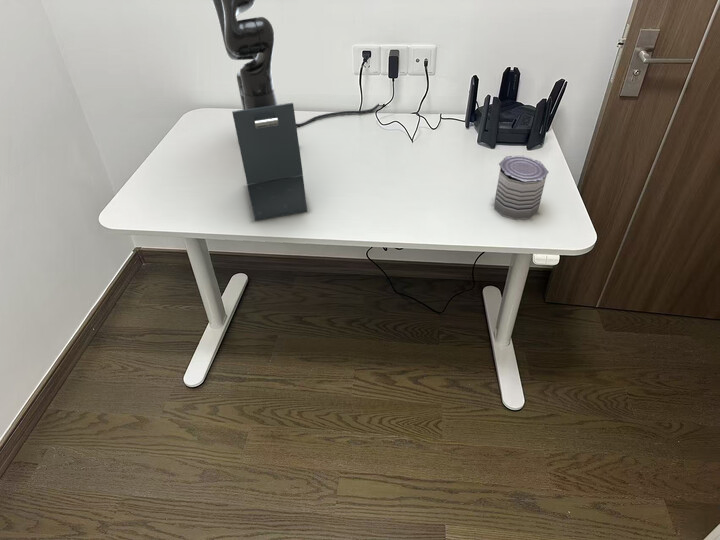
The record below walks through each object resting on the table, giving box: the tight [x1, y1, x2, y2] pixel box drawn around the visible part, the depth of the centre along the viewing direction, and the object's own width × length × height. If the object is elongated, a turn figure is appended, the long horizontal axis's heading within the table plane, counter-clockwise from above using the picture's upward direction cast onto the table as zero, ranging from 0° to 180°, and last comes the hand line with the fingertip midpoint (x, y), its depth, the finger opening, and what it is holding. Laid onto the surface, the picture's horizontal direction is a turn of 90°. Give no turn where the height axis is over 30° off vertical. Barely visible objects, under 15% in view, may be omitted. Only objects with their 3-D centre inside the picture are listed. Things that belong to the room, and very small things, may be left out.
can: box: [493, 155, 550, 221], centre depth 130 cm, size 11×11×12 cm
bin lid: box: [231, 102, 304, 185], centre depth 120 cm, size 18×14×5 cm
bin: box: [246, 174, 308, 222], centre depth 137 cm, size 17×14×11 cm
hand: (271, 167), depth 136 cm, fingers open, 8 cm apart
